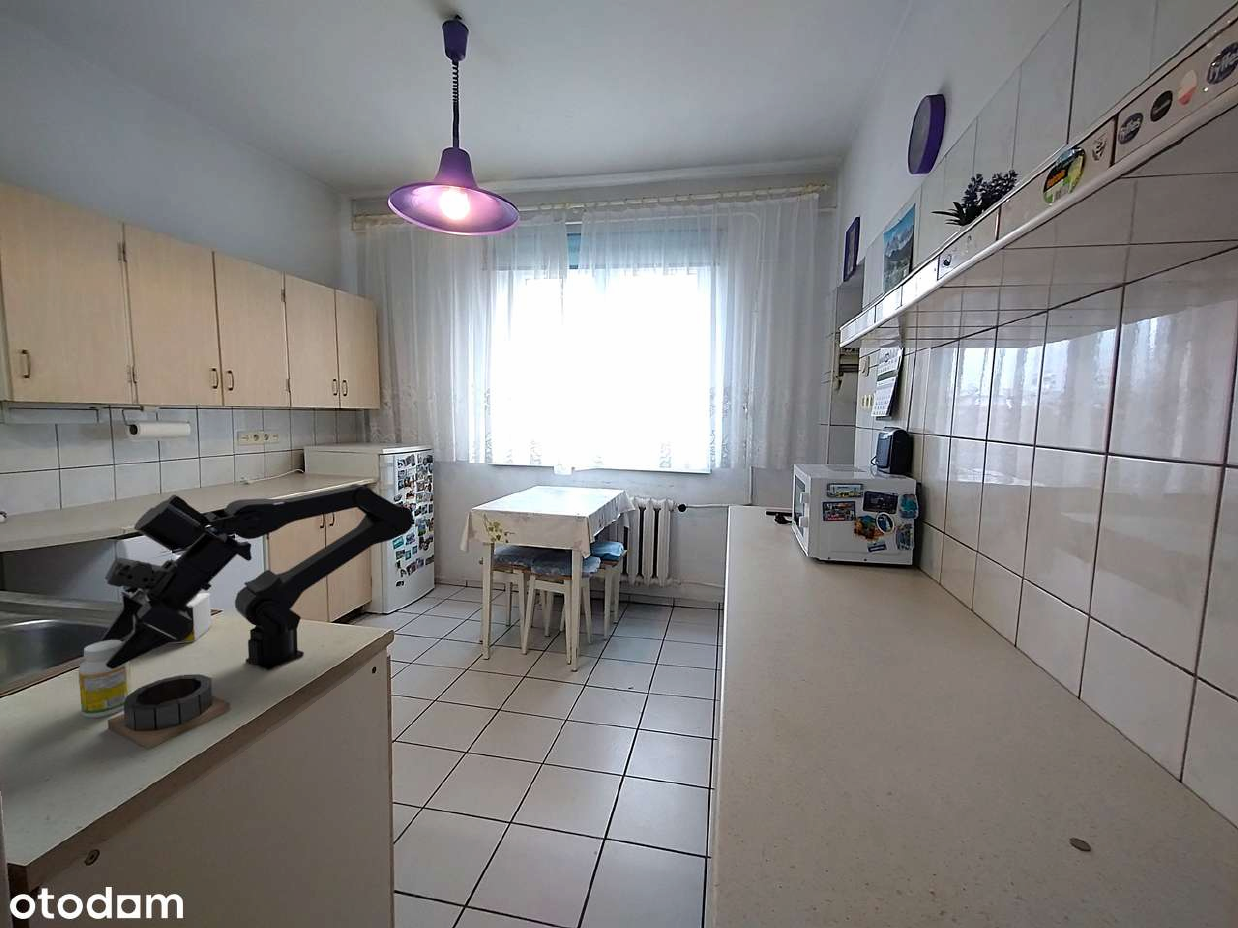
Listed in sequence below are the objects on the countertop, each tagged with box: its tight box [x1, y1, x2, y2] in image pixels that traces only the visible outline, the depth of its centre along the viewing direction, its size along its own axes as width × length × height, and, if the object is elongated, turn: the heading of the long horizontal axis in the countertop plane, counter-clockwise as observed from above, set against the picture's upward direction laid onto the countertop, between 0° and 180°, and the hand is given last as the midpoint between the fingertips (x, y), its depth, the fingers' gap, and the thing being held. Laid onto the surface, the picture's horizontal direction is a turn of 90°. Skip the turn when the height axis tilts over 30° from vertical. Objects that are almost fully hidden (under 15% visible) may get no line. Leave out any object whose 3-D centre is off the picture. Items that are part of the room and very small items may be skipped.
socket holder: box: [107, 673, 231, 750], centre depth 76 cm, size 10×10×4 cm
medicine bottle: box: [166, 591, 212, 645], centre depth 102 cm, size 7×7×12 cm
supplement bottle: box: [78, 639, 132, 719], centre depth 78 cm, size 5×5×10 cm
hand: (105, 656), depth 78 cm, fingers open, 9 cm apart
